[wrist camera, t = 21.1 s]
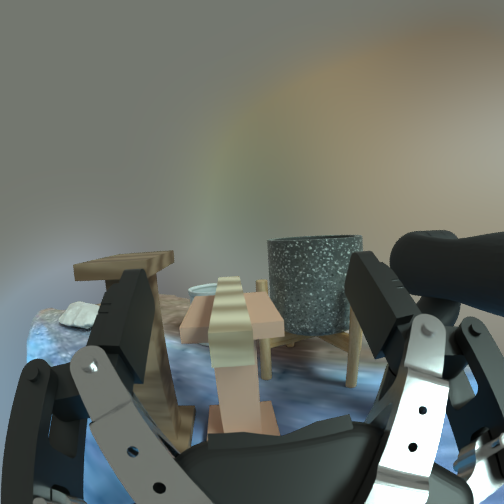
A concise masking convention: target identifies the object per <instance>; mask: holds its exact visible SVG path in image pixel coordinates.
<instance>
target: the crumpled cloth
mask: <svg viewBox="0 0 504 504" xmlns="http://www.w3.org/2000/svg"><path fill="white" fill-rule="evenodd" d="M99 307H100V306H98V305H94V304H88V303H84V302H80V301H79V302H75V303H72V304H70V305H69V307H68V309H67V310H66V311H65V312H64V314H63V315H62V316H60V318H59V322H60V323H61V324H64V325H67V326H74V327H78V328H79V327H81V328H86V329H89V328H90V327H92V326H93V324H94V321H95V318H96V315H97V314H98V310H99Z"/></svg>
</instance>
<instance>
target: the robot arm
mask: <svg viewBox="0 0 504 504" xmlns="http://www.w3.org/2000/svg"><path fill="white" fill-rule="evenodd" d="M344 290H345V295H346V297H347V299H348V301H349V304H350V306H351V308H352V310H353V312H354V314H355V316H356V318H357V321H358V323H359V325H360V327H361V329H362V331H363V334H364V336H365V338H366V340H367V342H368V345H369V347H370V349H371V352H372V354H373V356H374V358H375V359H379V358H383V357H385V358H386V360H387V362H388V364H387V366H386V369H385V372H384V375H383V379H382V382H381V385H380V388H379V391H378V394H377V397H376V400H375V402H374V405H373V407H372V409H371V411H370V412H369V414H368V416H367V418H366V420H365V422H364V423H363V422H355V421H351V418H350V414H348V415H344V416H340V417H335V418H331V419H326V420H322V421H317V422H315V423H312V424H310V425H308V426H306V427H303V428H301V429H299V430H296V431H294V432H292V433H289V434H287V435H283V436H275V435H266V434H257V433H249V432H232V433H208V434H207V435H208V441H205V442H201V443H199V444H196V445H194V446H192V447H190V448H188V449H186V450H185V451H183V452H182V453H179V451H178V450H177V449H176V448H175V447H174V445H173V444H172V443H171V442H170V441H169V439H168V438H167V437H166V436H165V435H164V434H163V432H162V431H161V430H160V429H159V427H158V426H157V425H156V423H155V422H154V421H153V419H152V418H151V416H150V415H149V414H148V412H147V411H146V409H145V408H144V406H143V405H142V403H141V402H140V400H139V399H138V397H137V396H136V394H135V393H134V392H133V385H134V384H144V377H145V370H146V363H147V356H148V350H149V343H150V337H151V332H152V326H153V320H154V315H155V301H154V297H153V294H152V291H151V288H150V285H149V282H148V279H147V275H146V272H145V270H144V269H143V268H142V269H126V270H124V271H123V273H122V276H121V278H120V281H119V283H114V284H112V285H111V287H110V288H109V289H108V290H107V291H106V292H105V294H104V297H103V299H102V302H101V306H100V307H99V310H98V314H97V315H96V318H95V321H94V324H93V327H92V330H91V333H90V336H89V339H88V342H87V345H86V347H83V348H81V349H80V350H78V351H77V352H76V353H75V354H74V356H73V357H72V359H71V362H69V363H66V364H62V365H57V366H53V367H50V366H49V364H48V363H47V362H46V361H45V360H43V359H34V360H32V361H30V362H29V363H27V364H26V366H25V367H24V368H23V370H22V373H21V376H20V379H19V382H18V386H17V390H16V393H15V397H14V401H13V406H12V410H11V415H10V419H9V424H8V431H7V436H6V442H5V449H4V457H3V467H2V483H1V504H87V503H86V502H85V501H84V500H83V474H84V451H85V438H86V427H87V418H91V420H92V422H91V423H90V424H89V426H90V430H91V432H92V434H93V436H94V438H95V440H96V442H97V444H98V445H99V447H100V449H101V451H102V453H103V454H104V456H105V458H106V459H107V461H108V463H109V464H110V466H111V468H112V469H113V471H114V472H115V474H116V476H117V477H118V479H119V480H120V482H121V483H122V485H123V486H124V488H125V489H126V490H127V492H128V493H129V495H130V496H131V497H132V499H133V500H134V501H135V503H134V504H478V503H480V502H481V501H482V500H484V499H485V498H487V497H488V496H489V495H491V494H492V493H493V492H495V491H496V490H497V489H498V488H500V487H501V486H502V485H503V484H504V357H503V355H502V354H501V352H500V350H499V348H498V346H497V345H496V343H495V341H494V339H493V338H492V336H491V334H490V333H489V331H488V329H487V328H486V326H485V325H484V324H483V322H481V321H480V320H479V319H477V318H475V317H466V318H464V319H463V321H462V322H461V324H460V325H459V327H454V324H455V322H456V320H457V318H458V315H459V311H460V305H461V303H462V304H465V305H468V306H471V307H474V308H477V309H479V310H483V311H486V312H489V313H492V314H495V315H499V316H502V317H504V232H498V233H491V234H485V235H479V236H474V237H468V238H460V239H458V238H457V237H456V236H455V235H454V234H453V233H452V232H450V231H446V230H432V231H415V232H410V233H407V234H405V235H404V236H402V237H401V238H400V239H399V240H398V241H397V242H396V244H395V245H394V247H393V249H392V251H391V255H390V267H388V266H387V265H386V264H384V263H383V262H379V261H378V259H377V258H376V256H375V255H374V254H373V252H371V251H362V252H353V253H352V255H351V257H350V262H349V266H348V270H347V274H346V278H345V283H344ZM410 294H412V295H418V296H422V297H421V298H420V300H419V301H418V302H417V304H416V303H415V302H414V300H413V299H412V297H411V296H410ZM467 365H469V367H470V369H471V371H472V373H473V375H474V377H475V379H476V381H477V384H478V392H477V394H476V396H475V394H474V392H473V390H472V387H471V385H470V383H469V381H468V378H467V376H466V374H465V372H464V370H463V369H464V368H465V367H466V366H467ZM445 411H446V414H447V417H448V419H449V422H450V425H451V428H452V431H453V434H454V437H455V440H456V443H457V447H458V450H459V455H458V459H457V460H456V461H455V462H454V464H453V469H454V471H456V472H458V474H457V475H456V474H454V473H452V472H450V471H449V470H447V469H445V468H443V467H442V466H440V465H438V464H437V463H435V462H433V461H434V458H435V454H436V451H437V447H438V443H439V439H440V434H441V430H442V425H443V420H444V415H445ZM51 416H52V419H51ZM50 422H51V426H50ZM49 429H50V432H49Z"/></svg>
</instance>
